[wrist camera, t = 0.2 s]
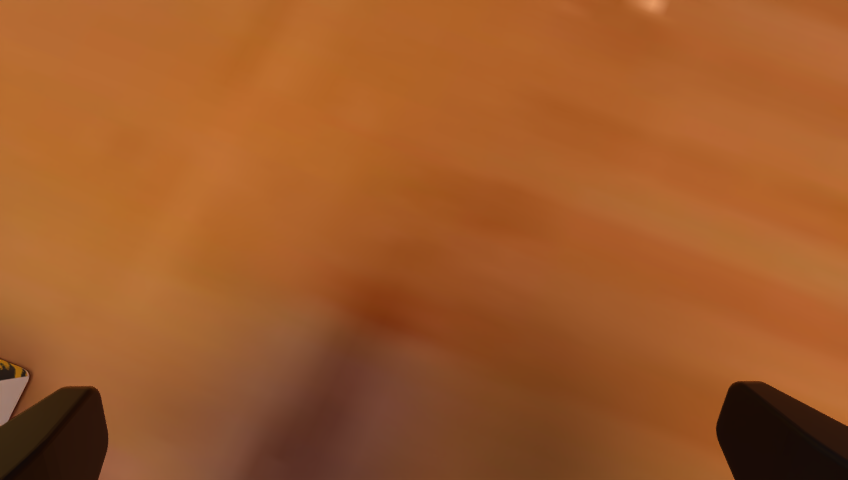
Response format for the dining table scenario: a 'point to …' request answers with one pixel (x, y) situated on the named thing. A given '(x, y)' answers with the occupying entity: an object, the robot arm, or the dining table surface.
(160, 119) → the dining table surface
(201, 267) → the dining table surface
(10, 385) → the medicine bottle
